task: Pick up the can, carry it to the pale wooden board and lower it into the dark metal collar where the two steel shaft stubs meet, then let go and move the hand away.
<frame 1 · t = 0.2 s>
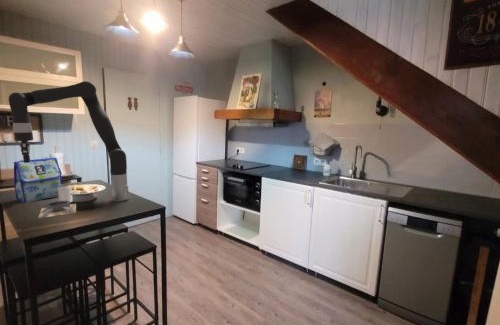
hand: (27, 161, 138), 28 cm above the table, tool pointing down, fingers open, 8 cm apart
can: (66, 204, 156), on the table
shaft board: (58, 213, 141), on the table
lunch bag: (41, 198, 167), on the table
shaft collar: (58, 208, 144), resting on shaft board
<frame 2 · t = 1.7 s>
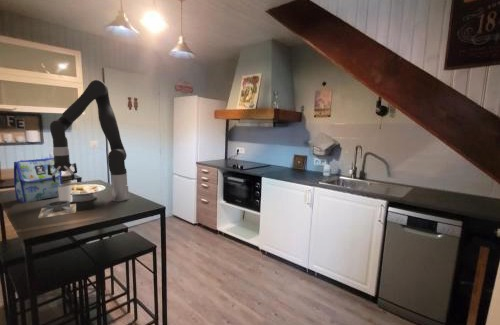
hand: (63, 181, 154), 15 cm above the table, tool pointing down, fingers open, 8 cm apart
nothing on the table moved.
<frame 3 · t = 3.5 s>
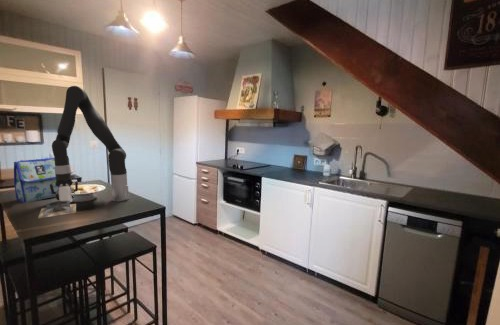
hand: (65, 199, 156), 3 cm above the table, tool pointing down, fingers closed on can, 6 cm apart
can: (66, 204, 156), on the table, touching gripper
everything else where it was.
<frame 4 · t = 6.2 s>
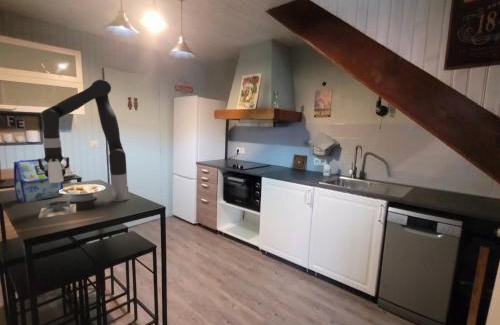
hand: (55, 176, 142), 20 cm above the table, tool pointing down, fingers closed on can, 6 cm apart
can: (56, 182, 143), point 16 cm above the table, touching gripper
everything else where it was.
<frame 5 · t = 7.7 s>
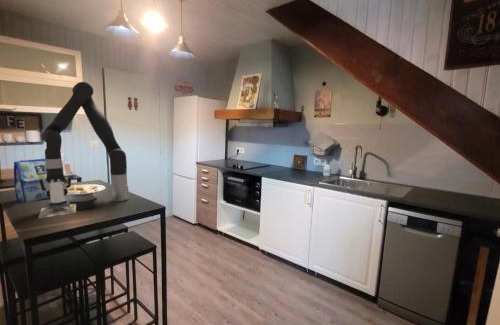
hand: (57, 196, 143), 9 cm above the table, tool pointing down, fingers closed on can, 6 cm apart
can: (58, 202, 143), point 5 cm above the table, touching gripper
everything else where it was.
when the fingers open (6 cm above the table, at t = 8.8 s): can drops 1 cm, resting on shaft board.
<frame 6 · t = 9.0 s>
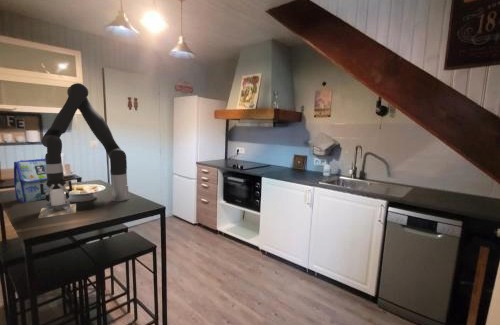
hand: (57, 200, 143), 6 cm above the table, tool pointing down, fingers open, 8 cm apart
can: (59, 208, 144), point 1 cm above the table, touching shaft board
everything else where it was.
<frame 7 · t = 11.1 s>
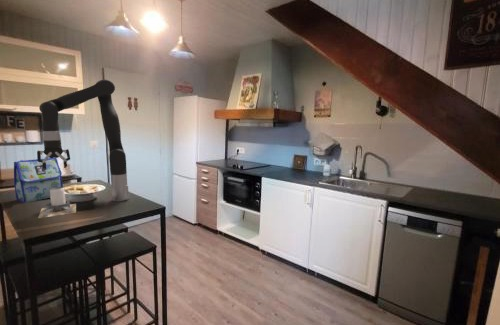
hand: (55, 168, 141), 24 cm above the table, tool pointing down, fingers open, 8 cm apart
nothing on the table moved.
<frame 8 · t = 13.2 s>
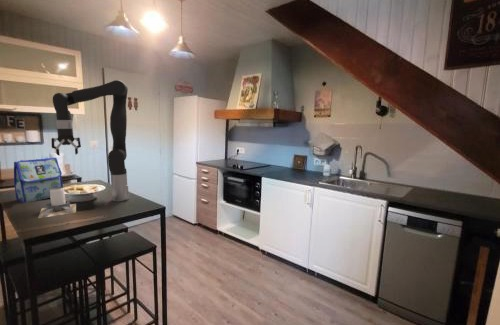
hand: (67, 154, 154), 30 cm above the table, tool pointing down, fingers open, 8 cm apart
nothing on the table moved.
at the end: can 0.1 cm off-centre on the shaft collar, point 0.0 cm above the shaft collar's base; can tilted 0°; the gripper is holding nothing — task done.
